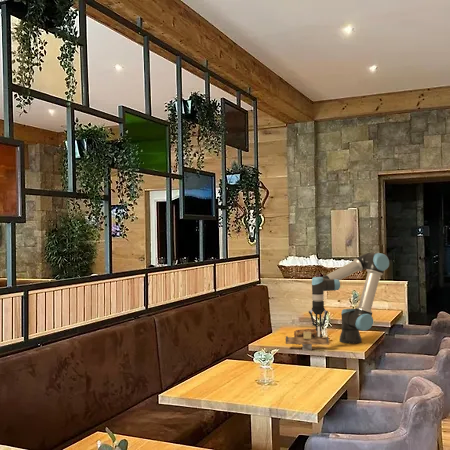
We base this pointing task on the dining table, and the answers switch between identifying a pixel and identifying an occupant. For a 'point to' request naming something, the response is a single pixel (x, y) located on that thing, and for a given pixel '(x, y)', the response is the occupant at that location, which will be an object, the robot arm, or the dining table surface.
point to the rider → (307, 335)
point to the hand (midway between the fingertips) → (318, 336)
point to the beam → (307, 342)
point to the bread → (313, 331)
